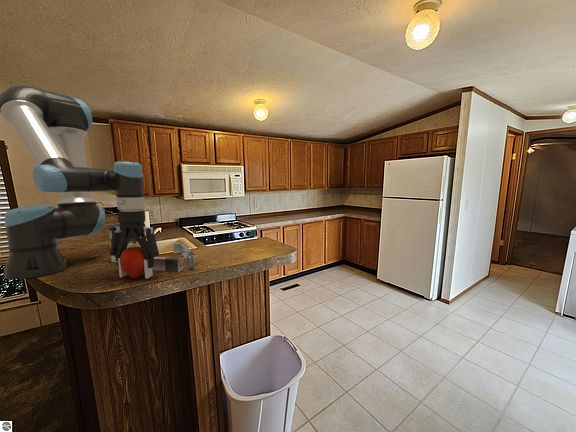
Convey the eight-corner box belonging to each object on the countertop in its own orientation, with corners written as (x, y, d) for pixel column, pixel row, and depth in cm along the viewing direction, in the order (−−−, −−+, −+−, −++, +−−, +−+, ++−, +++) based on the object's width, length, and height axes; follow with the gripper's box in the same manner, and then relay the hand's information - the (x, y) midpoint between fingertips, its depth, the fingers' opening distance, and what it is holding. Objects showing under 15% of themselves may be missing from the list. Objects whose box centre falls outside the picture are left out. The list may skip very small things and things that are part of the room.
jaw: (195, 265, 93) (194, 254, 92) (183, 267, 90) (182, 256, 90) (183, 251, 112) (183, 242, 111) (173, 252, 109) (173, 243, 109)
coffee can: (146, 256, 104) (144, 224, 102) (125, 263, 94) (123, 228, 92) (126, 254, 106) (123, 223, 104) (104, 261, 96) (101, 227, 94)
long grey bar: (195, 268, 90) (195, 255, 90) (189, 272, 86) (188, 259, 85) (129, 264, 93) (128, 252, 92) (120, 268, 89) (119, 255, 88)
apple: (153, 278, 80) (151, 246, 79) (123, 284, 75) (120, 251, 73) (147, 271, 87) (145, 242, 85) (119, 276, 81) (116, 245, 80)
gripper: (91, 210, 75) (97, 278, 78) (154, 212, 73) (158, 282, 76) (111, 208, 82) (116, 270, 85) (169, 209, 80) (172, 273, 83)
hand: (136, 276), depth 81 cm, fingers closed on apple, 8 cm apart
